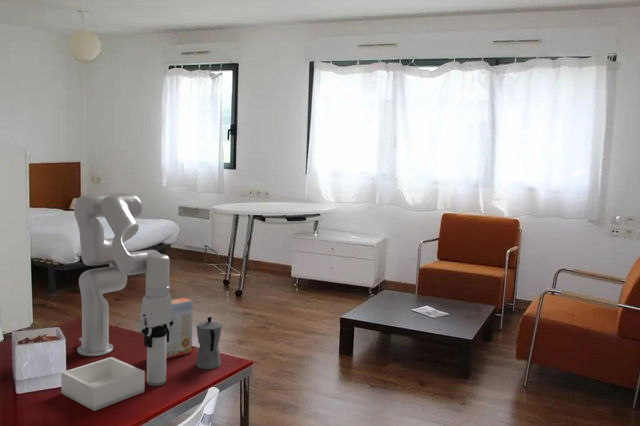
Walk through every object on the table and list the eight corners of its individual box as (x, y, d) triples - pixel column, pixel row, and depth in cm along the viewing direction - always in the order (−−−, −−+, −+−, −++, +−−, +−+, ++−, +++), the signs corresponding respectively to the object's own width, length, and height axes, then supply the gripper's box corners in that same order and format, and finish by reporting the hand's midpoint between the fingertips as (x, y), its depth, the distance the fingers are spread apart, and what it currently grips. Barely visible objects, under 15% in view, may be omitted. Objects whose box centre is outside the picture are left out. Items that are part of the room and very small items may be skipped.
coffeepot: (193, 359, 217) (194, 312, 215) (218, 357, 220) (219, 311, 218) (198, 375, 203) (199, 325, 201) (225, 372, 206) (227, 323, 204)
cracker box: (184, 348, 227) (185, 296, 225) (192, 353, 223) (193, 300, 220) (151, 356, 218) (152, 302, 215) (159, 361, 213) (159, 306, 211)
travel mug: (142, 384, 193) (142, 326, 191) (154, 377, 199) (155, 321, 197) (157, 388, 191) (158, 329, 188) (169, 380, 197) (170, 323, 194)
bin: (61, 393, 184) (61, 372, 183) (111, 376, 198) (111, 356, 197) (94, 411, 173) (94, 388, 172) (144, 391, 188) (144, 371, 187)
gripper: (170, 285, 200) (170, 335, 203) (128, 294, 186) (127, 348, 189) (185, 289, 196) (184, 340, 198) (142, 298, 182) (142, 353, 184)
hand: (156, 343), depth 193 cm, fingers closed on travel mug, 6 cm apart
